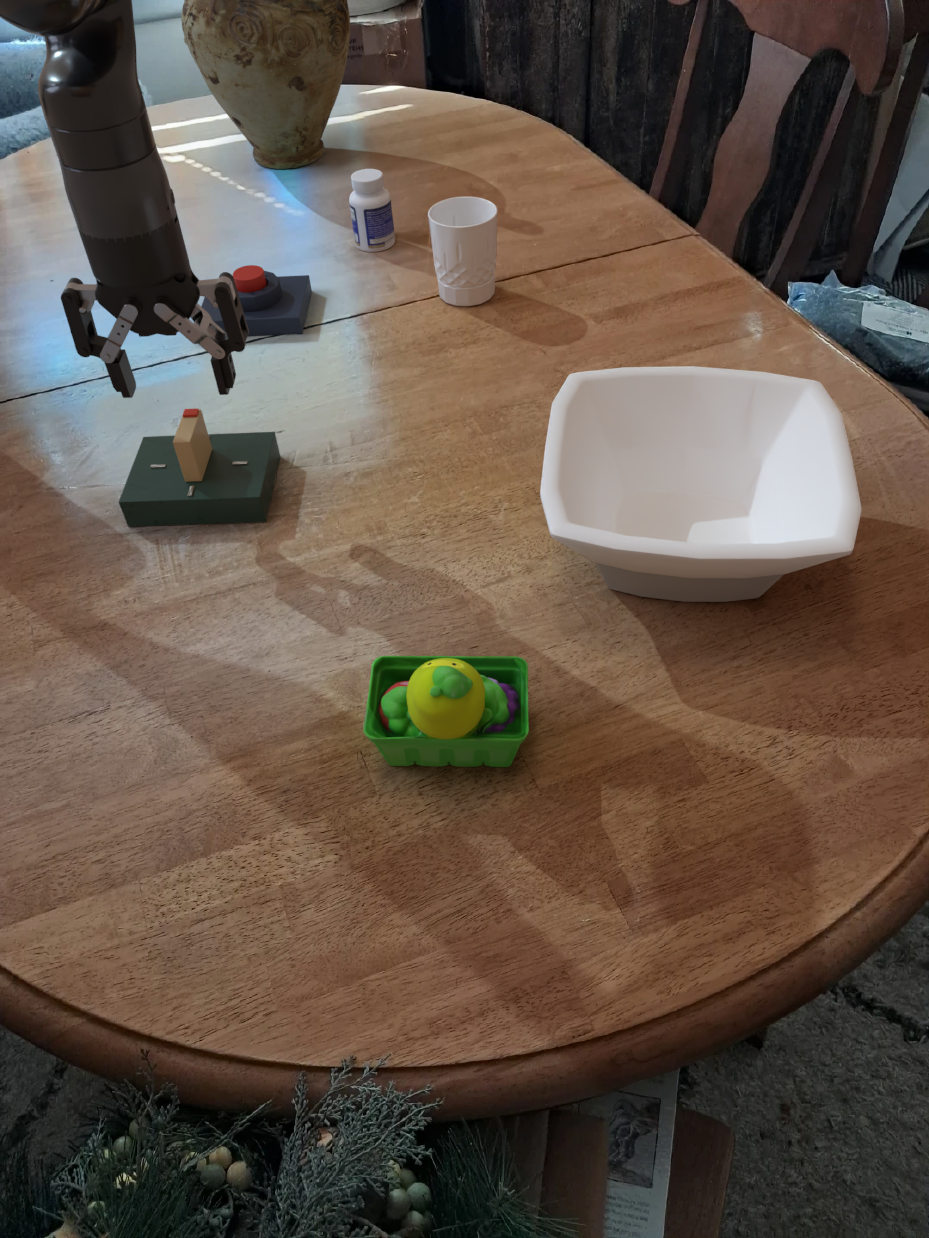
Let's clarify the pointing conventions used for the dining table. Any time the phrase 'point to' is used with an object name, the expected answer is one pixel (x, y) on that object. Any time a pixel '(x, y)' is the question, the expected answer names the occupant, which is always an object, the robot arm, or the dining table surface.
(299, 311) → the button box
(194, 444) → the knob
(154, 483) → the panel
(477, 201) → the white cup
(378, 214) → the pill bottle
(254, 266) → the button
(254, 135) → the vase
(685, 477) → the bowl
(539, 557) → the dining table surface
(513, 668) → the fruit basket
